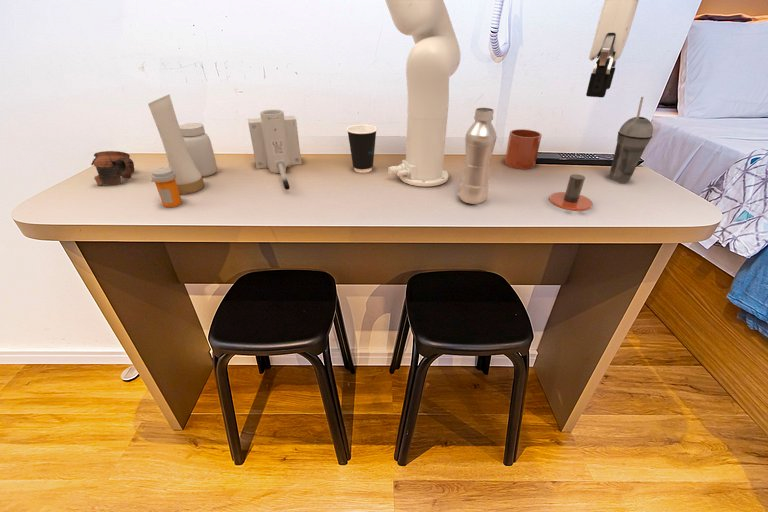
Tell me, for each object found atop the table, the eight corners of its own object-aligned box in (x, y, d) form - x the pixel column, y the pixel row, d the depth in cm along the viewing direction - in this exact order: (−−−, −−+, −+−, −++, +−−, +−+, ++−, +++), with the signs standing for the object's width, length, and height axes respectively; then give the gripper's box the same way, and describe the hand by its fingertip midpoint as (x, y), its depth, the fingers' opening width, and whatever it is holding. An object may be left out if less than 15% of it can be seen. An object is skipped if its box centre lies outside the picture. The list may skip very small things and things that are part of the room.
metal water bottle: (488, 197, 90) (502, 107, 79) (484, 209, 84) (499, 114, 73) (460, 193, 91) (471, 105, 80) (455, 205, 86) (465, 112, 75)
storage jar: (518, 170, 104) (524, 139, 100) (498, 161, 110) (503, 131, 106) (541, 166, 107) (548, 135, 102) (520, 157, 113) (526, 128, 109)
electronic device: (299, 158, 112) (292, 104, 104) (314, 192, 92) (307, 128, 83) (255, 162, 109) (245, 107, 101) (261, 199, 88) (249, 133, 80)
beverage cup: (639, 186, 95) (672, 101, 84) (607, 184, 96) (636, 99, 86) (629, 175, 101) (659, 94, 90) (599, 173, 102) (625, 93, 92)
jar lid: (570, 216, 82) (579, 187, 78) (540, 200, 88) (547, 172, 85) (600, 208, 85) (609, 180, 81) (568, 193, 91) (576, 167, 88)
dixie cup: (380, 173, 102) (380, 131, 96) (350, 176, 101) (349, 133, 95) (374, 163, 109) (373, 123, 103) (346, 165, 107) (344, 125, 101)
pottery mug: (85, 187, 95) (80, 153, 94) (122, 190, 104) (118, 159, 103) (119, 180, 91) (114, 145, 90) (155, 184, 100) (151, 151, 99)
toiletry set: (194, 168, 105) (171, 87, 94) (222, 167, 105) (202, 86, 94) (150, 208, 84) (115, 110, 73) (185, 208, 84) (155, 110, 73)
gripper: (606, -11, 75) (584, 84, 84) (595, -13, 63) (570, 98, 72) (651, -12, 72) (622, 87, 81) (649, -16, 59) (615, 102, 69)
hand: (598, 92), depth 77 cm, fingers open, 9 cm apart
